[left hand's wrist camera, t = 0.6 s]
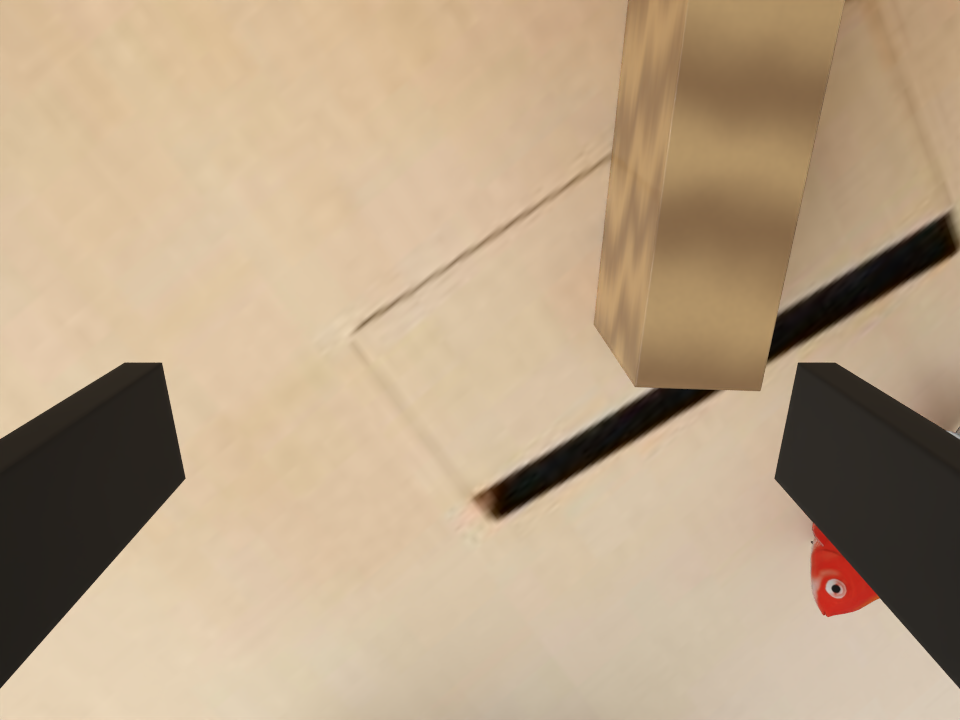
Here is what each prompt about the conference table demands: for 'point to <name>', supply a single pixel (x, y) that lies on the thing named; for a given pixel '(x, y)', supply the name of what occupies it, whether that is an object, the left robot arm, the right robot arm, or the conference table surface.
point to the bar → (708, 183)
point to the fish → (838, 577)
